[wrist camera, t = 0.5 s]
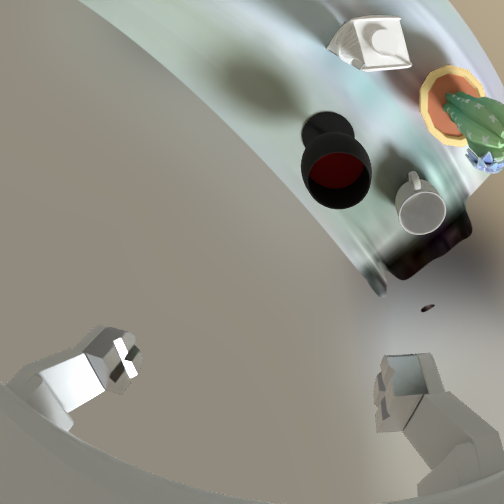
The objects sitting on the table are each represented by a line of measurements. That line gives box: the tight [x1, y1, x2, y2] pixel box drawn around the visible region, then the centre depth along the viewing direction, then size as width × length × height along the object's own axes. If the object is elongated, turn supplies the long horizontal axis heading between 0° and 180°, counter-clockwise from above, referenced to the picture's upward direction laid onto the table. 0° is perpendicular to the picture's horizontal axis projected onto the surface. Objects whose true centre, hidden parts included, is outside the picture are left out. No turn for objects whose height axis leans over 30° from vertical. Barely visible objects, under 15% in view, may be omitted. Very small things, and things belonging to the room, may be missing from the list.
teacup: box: [395, 171, 446, 235], centre depth 50 cm, size 14×11×8 cm
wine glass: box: [301, 112, 372, 209], centre depth 42 cm, size 10×10×20 cm
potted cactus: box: [419, 65, 504, 173], centre depth 29 cm, size 15×15×25 cm
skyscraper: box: [327, 15, 413, 72], centre depth 27 cm, size 8×8×28 cm
